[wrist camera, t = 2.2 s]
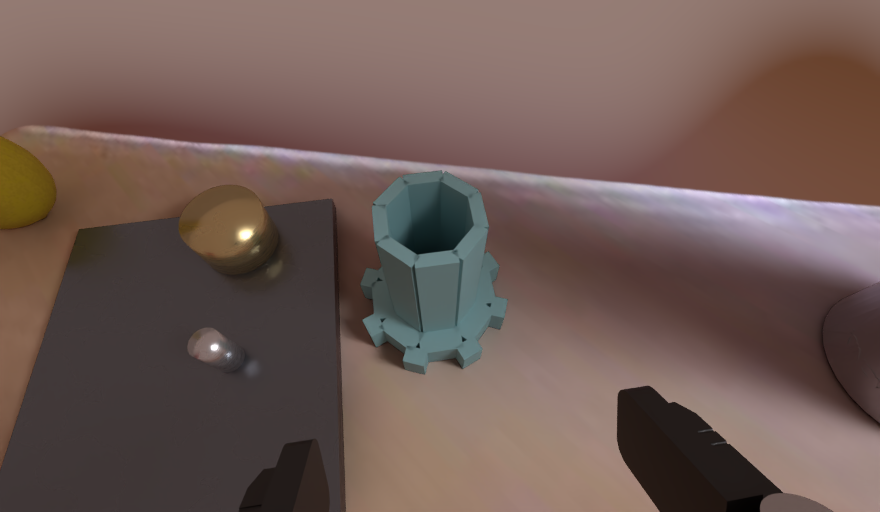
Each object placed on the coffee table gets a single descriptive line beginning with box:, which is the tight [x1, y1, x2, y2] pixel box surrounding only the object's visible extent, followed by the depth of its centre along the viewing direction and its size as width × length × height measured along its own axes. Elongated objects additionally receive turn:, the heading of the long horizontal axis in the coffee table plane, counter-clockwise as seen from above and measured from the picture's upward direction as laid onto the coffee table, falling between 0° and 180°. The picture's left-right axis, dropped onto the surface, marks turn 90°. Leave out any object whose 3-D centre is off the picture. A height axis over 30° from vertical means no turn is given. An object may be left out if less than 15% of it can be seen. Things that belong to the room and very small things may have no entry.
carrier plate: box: [0, 185, 346, 512], centre depth 23 cm, size 17×19×4 cm
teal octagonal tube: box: [360, 170, 508, 375], centre depth 22 cm, size 9×9×10 cm
